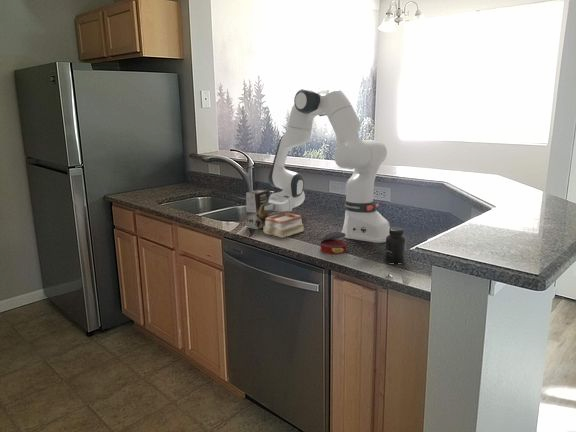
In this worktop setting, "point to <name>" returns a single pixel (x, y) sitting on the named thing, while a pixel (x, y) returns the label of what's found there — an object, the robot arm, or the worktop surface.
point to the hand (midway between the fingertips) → (257, 207)
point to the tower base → (283, 232)
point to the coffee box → (256, 208)
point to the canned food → (333, 243)
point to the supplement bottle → (395, 246)
